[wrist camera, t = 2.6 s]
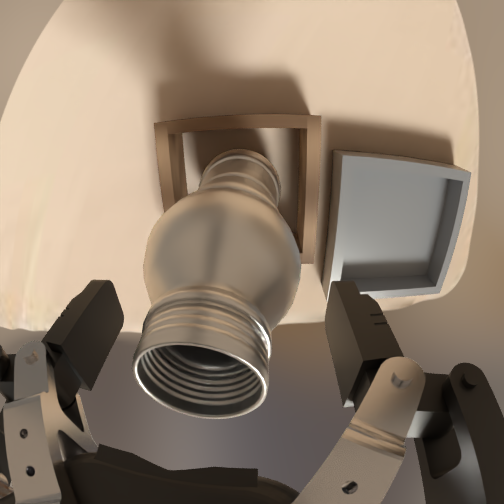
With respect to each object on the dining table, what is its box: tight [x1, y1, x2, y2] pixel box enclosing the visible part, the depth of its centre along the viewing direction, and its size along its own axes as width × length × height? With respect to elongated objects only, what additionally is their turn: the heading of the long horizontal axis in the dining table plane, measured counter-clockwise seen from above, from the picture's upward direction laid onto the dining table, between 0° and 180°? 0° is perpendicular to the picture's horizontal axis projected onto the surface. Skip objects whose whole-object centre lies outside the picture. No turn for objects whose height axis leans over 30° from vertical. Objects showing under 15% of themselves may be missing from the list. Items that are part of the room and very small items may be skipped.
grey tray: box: [322, 150, 471, 302], centre depth 24 cm, size 14×14×3 cm
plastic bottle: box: [132, 149, 301, 419], centre depth 15 cm, size 6×7×20 cm
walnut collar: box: [154, 114, 321, 264], centre depth 22 cm, size 12×12×4 cm
